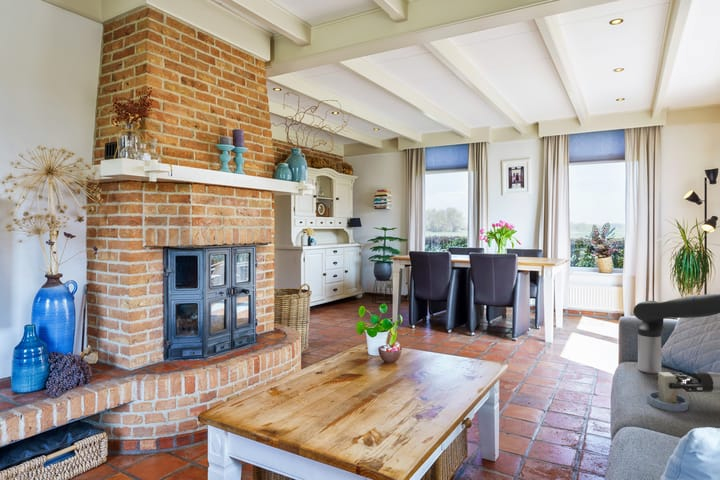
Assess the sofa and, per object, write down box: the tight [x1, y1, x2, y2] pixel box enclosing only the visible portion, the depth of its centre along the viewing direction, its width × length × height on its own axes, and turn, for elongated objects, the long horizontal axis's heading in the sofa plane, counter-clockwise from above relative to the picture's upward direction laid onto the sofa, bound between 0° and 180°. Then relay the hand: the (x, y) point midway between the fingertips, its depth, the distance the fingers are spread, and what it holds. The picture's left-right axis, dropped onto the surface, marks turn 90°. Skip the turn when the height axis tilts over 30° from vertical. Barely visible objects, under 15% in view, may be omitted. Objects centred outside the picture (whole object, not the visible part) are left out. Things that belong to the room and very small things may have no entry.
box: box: [657, 371, 677, 404], centre depth 170 cm, size 5×4×11 cm
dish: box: [646, 390, 689, 412], centre depth 170 cm, size 13×13×2 cm
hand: (662, 381), depth 170 cm, fingers open, 8 cm apart
